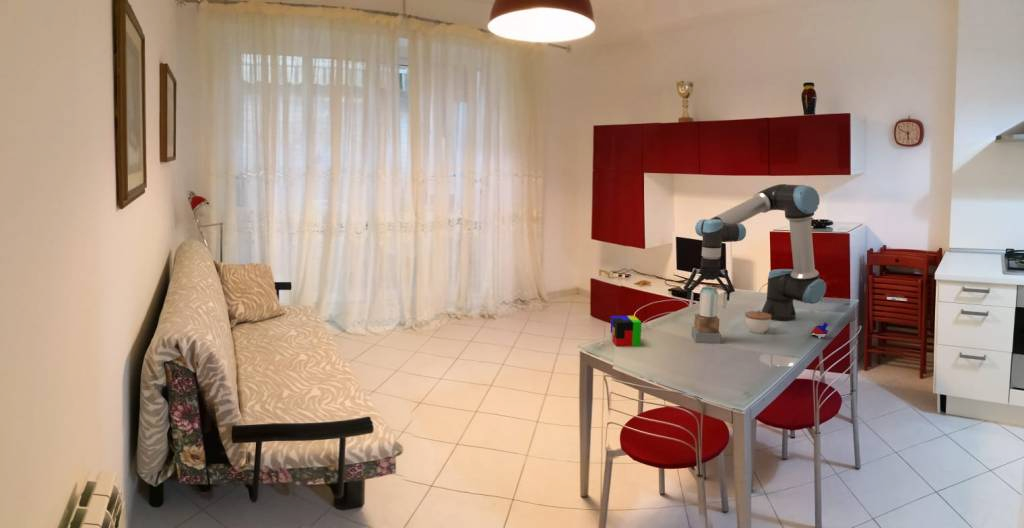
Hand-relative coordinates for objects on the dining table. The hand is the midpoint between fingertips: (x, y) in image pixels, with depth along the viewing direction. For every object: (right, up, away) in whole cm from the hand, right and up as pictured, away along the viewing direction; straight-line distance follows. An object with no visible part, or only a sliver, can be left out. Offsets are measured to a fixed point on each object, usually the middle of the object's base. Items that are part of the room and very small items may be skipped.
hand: (707, 307), depth 260 cm
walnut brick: (0, -9, +2) cm, 10 cm away
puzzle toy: (-35, -14, -2) cm, 38 cm away
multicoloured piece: (+50, -13, +7) cm, 52 cm away
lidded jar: (+26, -12, +15) cm, 32 cm away
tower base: (0, -13, +2) cm, 14 cm away
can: (0, -4, +1) cm, 4 cm away
